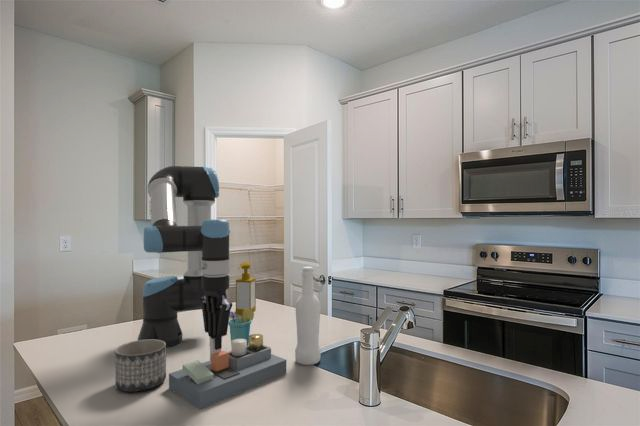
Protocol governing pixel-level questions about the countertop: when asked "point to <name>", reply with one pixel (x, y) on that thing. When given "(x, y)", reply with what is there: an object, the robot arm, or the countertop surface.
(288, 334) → the countertop surface
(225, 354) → the slider knob
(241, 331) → the cup
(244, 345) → the button ivory
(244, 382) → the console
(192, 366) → the block
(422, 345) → the countertop surface
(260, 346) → the button brass
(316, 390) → the countertop surface
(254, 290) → the soap bottle
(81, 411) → the countertop surface
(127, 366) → the planter
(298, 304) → the bottle
